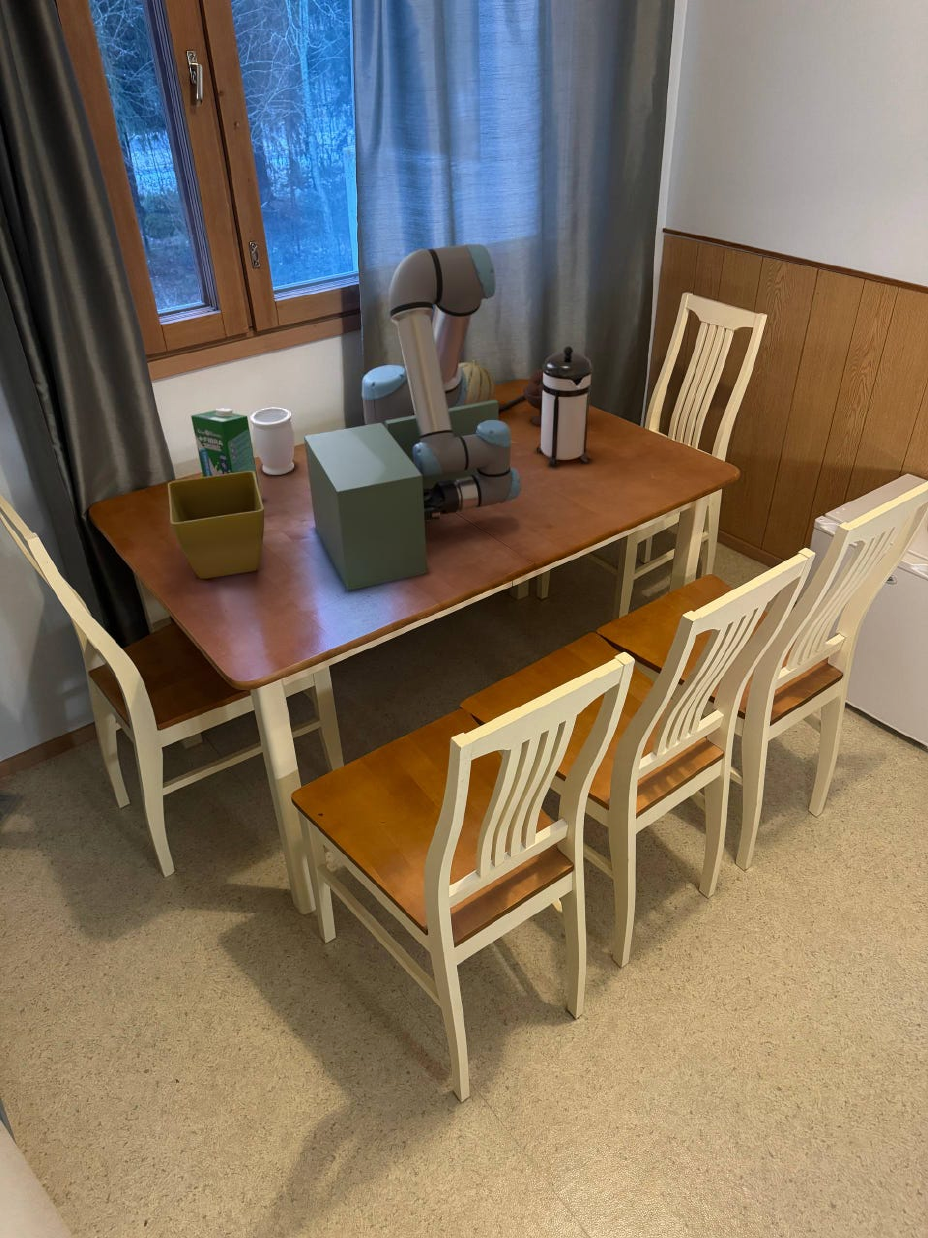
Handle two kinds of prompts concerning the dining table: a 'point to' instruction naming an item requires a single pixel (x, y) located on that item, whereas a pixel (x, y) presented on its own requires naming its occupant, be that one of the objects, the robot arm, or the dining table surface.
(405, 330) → the robot arm
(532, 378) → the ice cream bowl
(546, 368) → the coffee press
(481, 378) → the cantaloupe
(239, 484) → the flower pot
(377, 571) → the cupboard
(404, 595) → the dining table surface
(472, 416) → the cupboard door
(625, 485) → the dining table surface
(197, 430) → the milk carton
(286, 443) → the jar
